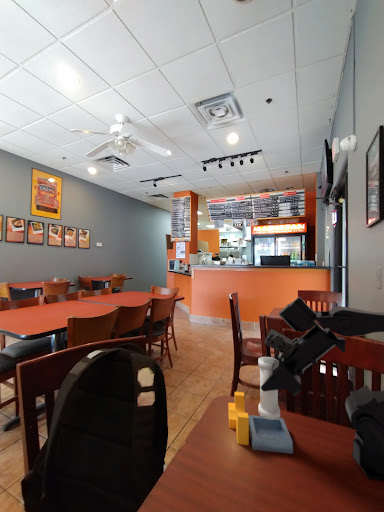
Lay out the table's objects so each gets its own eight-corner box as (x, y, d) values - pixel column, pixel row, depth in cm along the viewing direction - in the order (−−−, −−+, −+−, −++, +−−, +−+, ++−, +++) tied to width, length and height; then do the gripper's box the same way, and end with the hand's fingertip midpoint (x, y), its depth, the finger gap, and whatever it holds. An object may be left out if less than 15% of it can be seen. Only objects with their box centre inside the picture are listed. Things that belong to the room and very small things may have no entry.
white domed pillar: (281, 410, 61) (280, 359, 62) (278, 422, 57) (277, 366, 57) (260, 405, 64) (260, 355, 64) (256, 415, 59) (255, 362, 60)
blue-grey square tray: (283, 427, 64) (282, 418, 64) (292, 453, 55) (292, 442, 55) (248, 424, 65) (248, 415, 65) (252, 449, 56) (252, 438, 56)
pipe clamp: (228, 413, 70) (228, 391, 70) (243, 415, 69) (243, 392, 70) (230, 443, 58) (230, 416, 58) (248, 445, 57) (248, 417, 58)
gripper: (285, 314, 68) (247, 348, 72) (282, 329, 51) (232, 373, 55) (317, 346, 65) (275, 380, 69) (325, 373, 48) (268, 417, 51)
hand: (263, 385), depth 61 cm, fingers closed on white domed pillar, 4 cm apart
